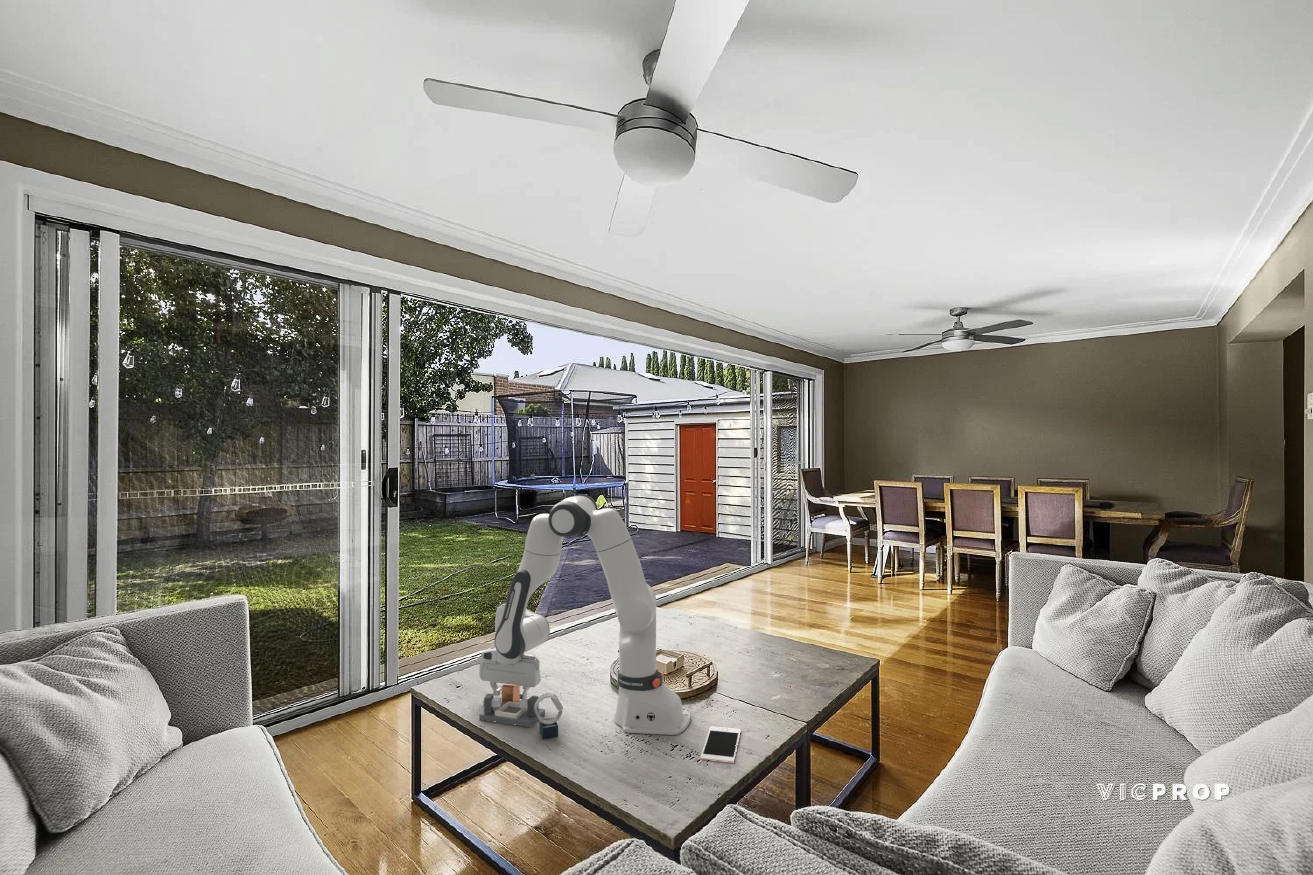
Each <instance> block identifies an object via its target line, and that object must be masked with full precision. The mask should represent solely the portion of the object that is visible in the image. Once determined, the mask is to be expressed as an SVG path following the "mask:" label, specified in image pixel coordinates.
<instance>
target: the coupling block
mask: <svg viewBox="0 0 1313 875" xmlns="http://www.w3.org/2000/svg"><path fill="white" fill-rule="evenodd" d="M520 691H521V689H520V686H519V685H512V684H504V683H503V685H502V686H501V703H507V702H508V701H510V702H517V703H519V701H520V700H521V699H520Z"/></svg>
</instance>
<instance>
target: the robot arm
mask: <svg viewBox="0 0 1313 875" xmlns="http://www.w3.org/2000/svg"><path fill="white" fill-rule="evenodd" d="M585 536H587V537H589V538H590V540H591V541H592V544H593V546H594V549H595V552H596V555H597V557H598V560H599V562H600V564H601V567H602V570H603V574H604V575H605V579H606V583H607V586H608V591H609V593H610V594H609V595H610V597H611V600H612V604H613V607H614V610H615V613H616V617H617V620H618V623H619V638H618V670H617V681H616V682H617V689H618V697H617V704H616V709H615V713H614V717H613V720H614V722H615V723H616V725H618V726H619V727H621V728H622V731H623V732H625V733H629V734H630V733H631V734H645V735H664V736H666V735H667V736H669V735H670V736H675V735H676V736H677V735H679V734H681V733H683V732H684V731H685V730H686V729H687V727H688V726H689V724H690V722H691V714H690V712H689V711H687V710H683V703H682V700H681V697H680V696H679V695H678V694H677V693H676V692H674V691H673V690H672V689H671V688H670V687H668V686H667V685H666V684H665V683H663V682H664V681H663V680H664V679H663V678H664V676H665V674H664V673H665V672H664V671H662V673H661V672H659V671H658V669H657V596H656V593H655V591H654V590H653V588H652V586H650V585H649V584H648V583H647V581H646V578H645V575H644V571H643V567H642V563H641V560H640V558H639V555H638V553H637V550H636V547H635V545H634V542H633V539H632V537H631V535H630V532H629V529H628V528H627V526H626V524H625V521H624V520H623V518H622V517H621V515H620V514H619V512H618V511H617V510H616V509H614V508H610V507H606V508H601V509H599V508H598V504H597V503H596V501H595V500H594V498H592V497H591V496H589V495H586V494H575V495H574V496H569V497H566V498H563V500H561V501H559V502H557V503H556V504H555V505H554V506H553V507H552V508H551V510H550V511H549V513H540V514H538V515H536V516H534V517H533V518H532V520H531V521H530V524H529V527H528V531H527V533H526V538H525V543H524V550H523V553H522V554H523V555H522V558H521V562H520V564H519V567H518V569H517V571H516V572H515V575H514V576H513V579H512V581H511V583H510V587H509V591H508V594H507V599H506V601H505V602H503V603H501V604H500V605H498V607H497V608H496V611H495V620H494V623H495V624H494V629H495V630H494V631H495V635H494V645H493V646H491V647H489V648H487V649H485V650H484V651H482V652H481V653H480V658H481V660H480V663H479V672H478V673H479V675H478V676H479V678H480V680H481V681H483V682H489V685H490V687H491V689H492V694H493V697H495V696H496V697H499V696H500V695H501V688H499V687H498V684H503V685H504V684H512V685H519V686H521V687H522V690H523V691H521V693H520V700H522V699H528V698H527V697H528V696H527V694H528V692H529V690H530V688H536V687H537V686H538V685H539V684H540V683H541V680H542V679H541V670H540V660H539V659H538V658H537V657H536V656H535V655H529V654H525V653H526V652H529V651H531V650H533V649H535V648H537V647H539V646H541V645H543V644H544V643H546V642H547V641H548V639H549V636H550V632H551V631H550V628H551V627H550V624H549V622H548V620H547V618H546V616H545V617H544V615H542V614H539V613H535V612H534V611H532V610H530V609H529V608H527V607H528V603H529V600H530V599H531V598H530V597H531V596H532V594H534V592H535V591H536V590H537V589H538V588H539V587H540V586H541V585H542V584H544V583H545V582H546V581H548V580H550V579H551V578H552V577H553V576H554V575H555V574H556V573H557V570H558V568H559V565H560V560H561V555H562V554H561V553H562V546H563V542H564V538H576V537H577V538H581V537H582V538H583V537H585ZM497 683H498V684H497Z"/></svg>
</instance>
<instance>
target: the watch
mask: <svg viewBox="0 0 1313 875" xmlns="http://www.w3.org/2000/svg"><path fill="white" fill-rule="evenodd" d="M549 698H550V700H551V701H552V704H553V705H554V706H555V708H556V710H557V711H558V712H557V715H555V717H547V718H543V716H542V717H541V716H540V715H539V713H538V709H537V706H538V704H539V705H540V703H541V702H542V701H543V700H545V699H549ZM534 708H535V709H534V710H535V713H536V716H537V718H538V721H539V726H538V728H539V734H540V736H541V739H542V740H548V739H553V738H559V724H558V721H559V720H560V718H561V717H562V715H563V710H564V706H563V705H562V702H561V701H560V699H559V698H558V696H557V695H556V694H555V693H551V692H547V693H544V694H541V695H540V696H538V699H537V701H536V702H535V707H534Z"/></svg>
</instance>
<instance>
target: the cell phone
mask: <svg viewBox="0 0 1313 875" xmlns="http://www.w3.org/2000/svg"><path fill="white" fill-rule="evenodd" d="M740 733H742V729H740V728H733V727H723V726H714V725H710V726H709V729H708V732H707V735H706V738H705V742H704V745H703V748H702V751H701V753H700V758H699V759H700V760H701V759H702V760H701V761H706V760H716V761H728V762H733V761H734V759H735V760H736V758H735V756H736V757H737V754H736V753H734V752H738V749H737V746H735V745H738V746H739V744H738V742H739V743H740V740H739V738H741V735H740Z"/></svg>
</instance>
